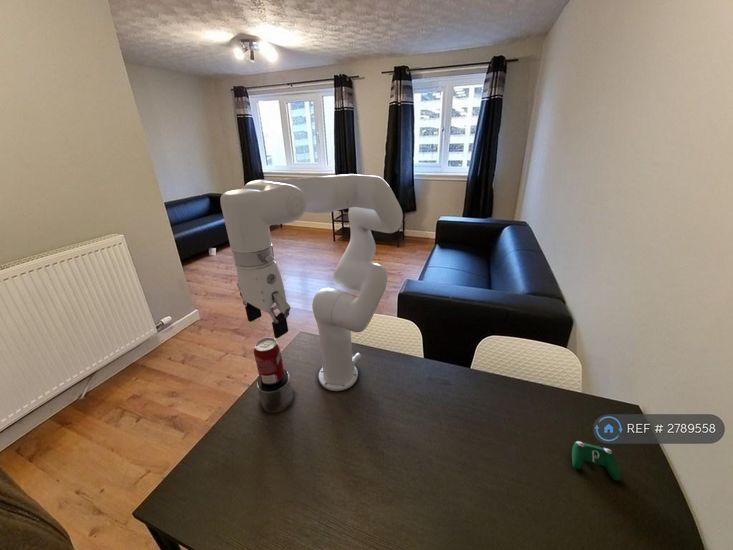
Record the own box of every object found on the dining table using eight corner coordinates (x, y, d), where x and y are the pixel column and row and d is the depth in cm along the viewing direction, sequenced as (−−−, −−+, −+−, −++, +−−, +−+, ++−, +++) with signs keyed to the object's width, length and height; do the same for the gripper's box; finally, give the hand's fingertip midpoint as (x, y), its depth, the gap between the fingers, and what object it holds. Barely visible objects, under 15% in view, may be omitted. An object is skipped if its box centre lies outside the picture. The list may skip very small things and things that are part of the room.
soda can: (278, 388, 82) (271, 353, 77) (255, 384, 84) (247, 350, 78) (288, 370, 88) (283, 337, 83) (267, 367, 90) (260, 334, 84)
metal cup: (280, 383, 96) (276, 361, 92) (299, 397, 91) (295, 375, 87) (255, 402, 89) (249, 379, 85) (274, 418, 84) (268, 395, 80)
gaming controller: (613, 478, 70) (613, 449, 72) (622, 482, 67) (621, 452, 69) (568, 465, 73) (568, 438, 75) (574, 469, 70) (574, 440, 71)
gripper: (297, 259, 57) (307, 332, 64) (246, 240, 67) (259, 306, 74) (263, 273, 52) (278, 351, 59) (213, 251, 61) (231, 320, 69)
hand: (267, 326), depth 67 cm, fingers open, 9 cm apart
